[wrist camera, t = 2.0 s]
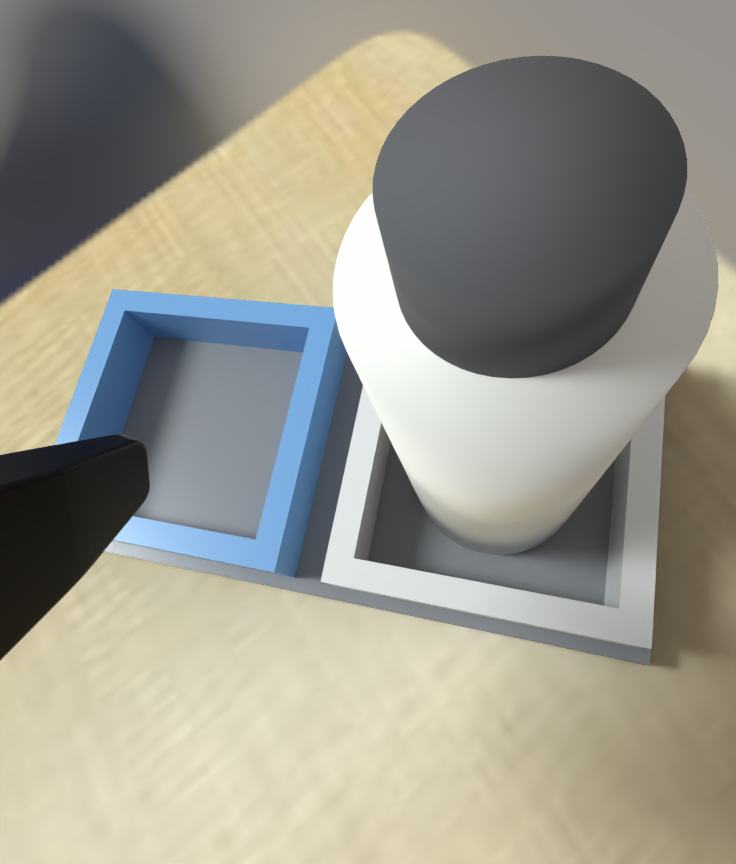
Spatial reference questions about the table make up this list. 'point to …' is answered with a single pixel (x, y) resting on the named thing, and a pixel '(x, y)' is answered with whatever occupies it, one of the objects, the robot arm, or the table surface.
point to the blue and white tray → (340, 481)
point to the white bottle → (523, 289)
